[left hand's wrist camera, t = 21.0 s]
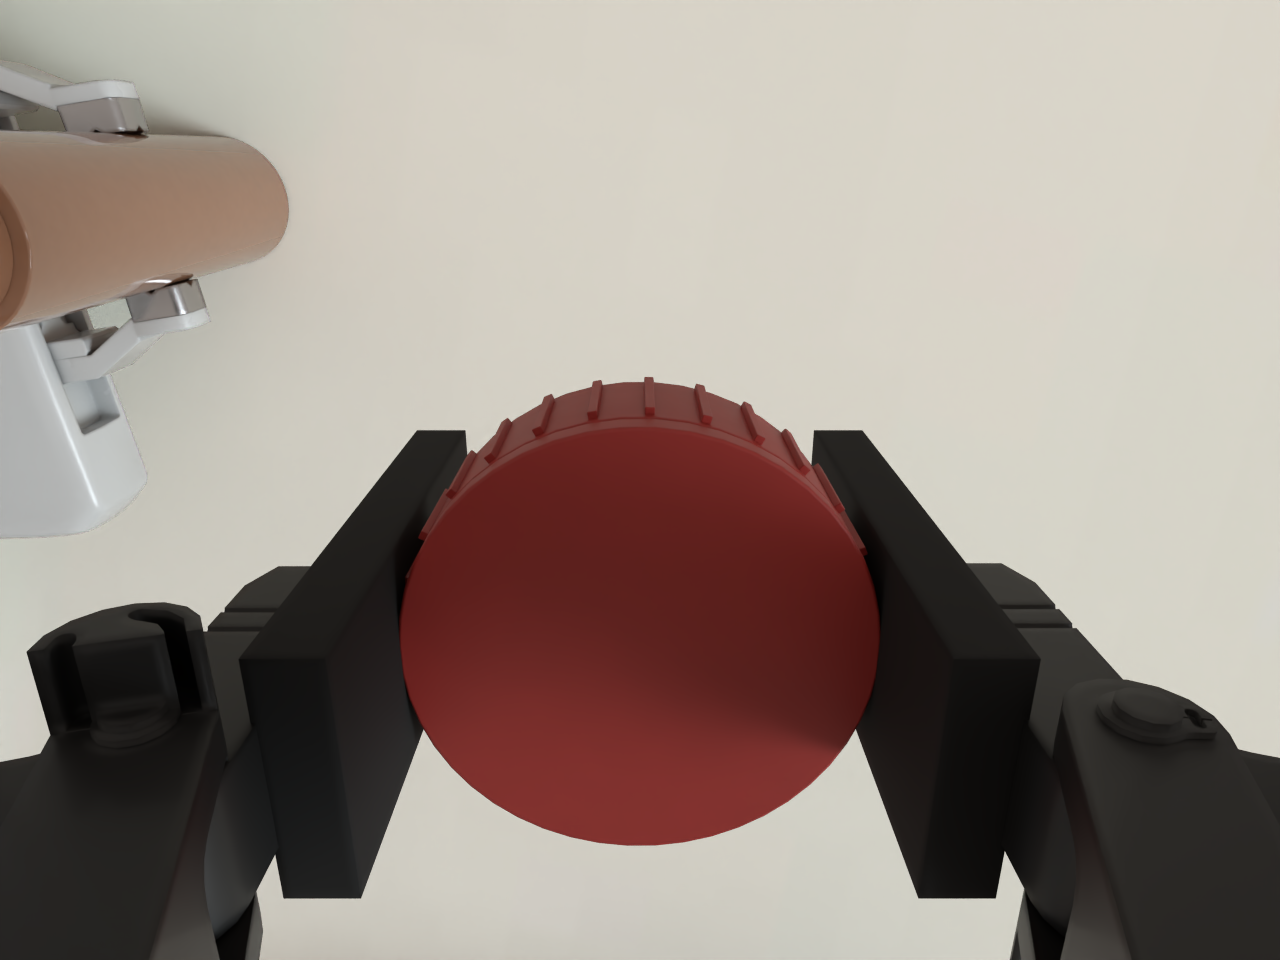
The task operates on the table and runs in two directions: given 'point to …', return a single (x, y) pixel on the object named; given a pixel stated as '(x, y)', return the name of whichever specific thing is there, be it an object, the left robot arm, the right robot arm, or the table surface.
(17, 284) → the jar
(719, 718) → the lid
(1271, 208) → the table surface
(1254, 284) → the table surface
